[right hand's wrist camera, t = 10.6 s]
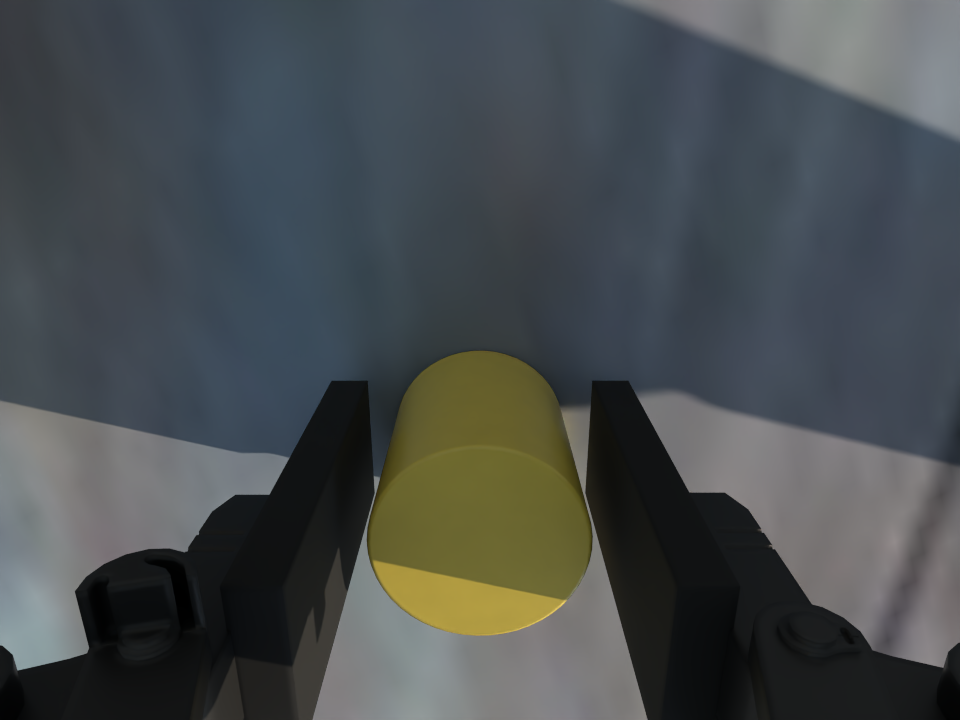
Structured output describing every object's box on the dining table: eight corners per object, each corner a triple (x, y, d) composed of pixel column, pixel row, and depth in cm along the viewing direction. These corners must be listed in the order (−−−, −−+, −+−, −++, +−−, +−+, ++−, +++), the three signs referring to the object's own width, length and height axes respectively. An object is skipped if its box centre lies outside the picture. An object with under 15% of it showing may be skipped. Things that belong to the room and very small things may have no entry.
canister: (595, 431, 15) (639, 553, 11) (474, 526, 16) (473, 671, 12) (485, 315, 14) (487, 400, 10) (363, 422, 15) (319, 541, 11)
